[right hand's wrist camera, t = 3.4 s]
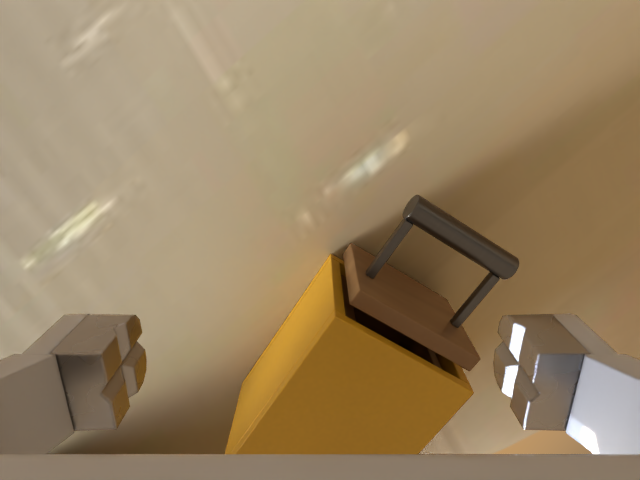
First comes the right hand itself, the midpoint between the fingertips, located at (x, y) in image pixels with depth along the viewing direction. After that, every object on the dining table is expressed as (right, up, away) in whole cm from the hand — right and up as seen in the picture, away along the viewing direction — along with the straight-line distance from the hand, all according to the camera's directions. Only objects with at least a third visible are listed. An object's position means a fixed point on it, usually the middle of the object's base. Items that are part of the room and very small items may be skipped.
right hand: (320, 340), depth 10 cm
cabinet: (+1, -7, +29) cm, 30 cm away
